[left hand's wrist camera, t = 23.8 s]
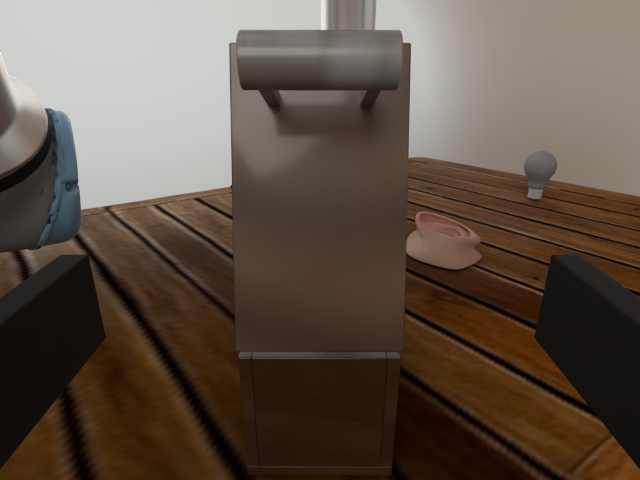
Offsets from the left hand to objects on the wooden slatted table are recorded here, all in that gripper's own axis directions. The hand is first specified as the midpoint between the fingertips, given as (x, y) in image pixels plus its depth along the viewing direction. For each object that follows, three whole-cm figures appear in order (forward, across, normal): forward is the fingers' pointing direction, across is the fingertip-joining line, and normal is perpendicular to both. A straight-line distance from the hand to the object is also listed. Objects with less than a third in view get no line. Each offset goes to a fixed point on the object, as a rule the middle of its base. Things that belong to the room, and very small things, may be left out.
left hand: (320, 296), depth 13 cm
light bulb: (+77, +45, -19) cm, 91 cm away
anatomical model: (+49, +18, -19) cm, 56 cm away
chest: (+19, 0, -19) cm, 27 cm away
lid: (+13, 0, -1) cm, 13 cm away
